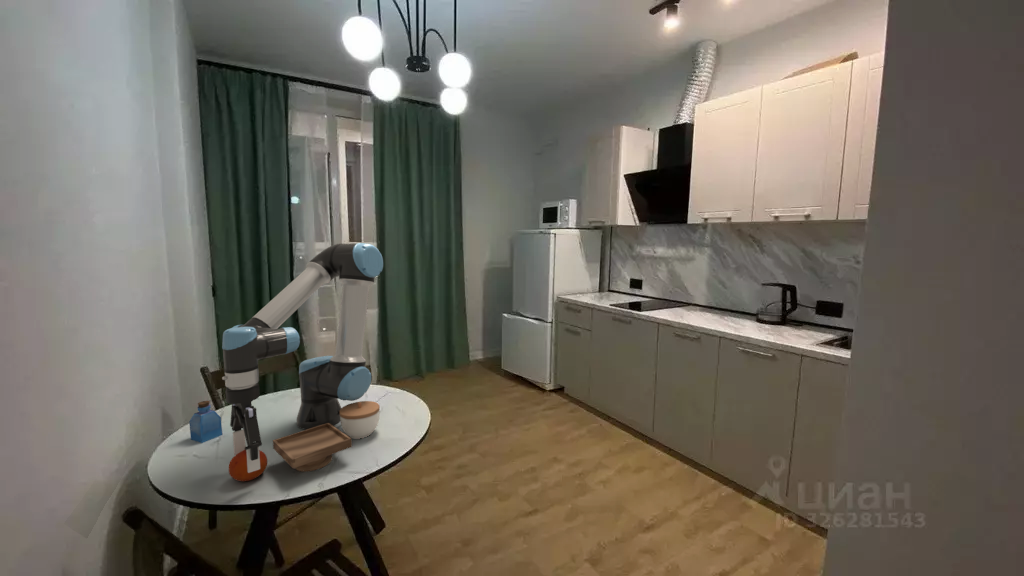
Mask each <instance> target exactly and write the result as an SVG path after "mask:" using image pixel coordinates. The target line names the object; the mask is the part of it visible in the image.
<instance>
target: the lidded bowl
mask: <svg viewBox="0 0 1024 576" xmlns="http://www.w3.org/2000/svg"><path fill="white" fill-rule="evenodd" d="M380 409H381V407H380V403H378V402H376V401H372V400H361V401H354V402H351V403H348V404H346V405H344V406H341V409H340V411H339V413H340V426H341V428H342V430H343V433H344V434H346V435H347V436H349V437H350V438H351V439H353V440H354V439H355V440H359V439H360V438H362V439H365V438H364V437H366V438H367V436H368V437H370V436H371V435H372V434H373V432H374V431H375V430H376V429H377V427H378V425H379V421H380ZM371 433H372V434H371ZM370 434H371V435H370ZM369 435H370V436H369ZM360 440H361V439H360Z"/></svg>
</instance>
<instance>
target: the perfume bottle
mask: <svg viewBox="0 0 1024 576" xmlns="http://www.w3.org/2000/svg"><path fill="white" fill-rule="evenodd" d="M197 405H198V406H197V412H195V413H193V415H192V416H191V418H190V420H189V430H190V431H189V433H190V440H192V441H194V442H196V443H197V442H198V443H200V444H203V443H206V442H208V441H210V440H211V441H212V440H213V439H216V438H219V437H221V436H223V427H222V426H223V425H222V418H221V416H220V414H219V413H217V411H216V410H212V409H211V407H212V406H211V404H210V400H204V401H203V400H202V401H199V402H198V403H197Z"/></svg>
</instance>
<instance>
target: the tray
mask: <svg viewBox="0 0 1024 576" xmlns="http://www.w3.org/2000/svg"><path fill="white" fill-rule="evenodd" d="M352 439H353V438H351V437H350V436H349V435H347V434H346V433H345V432H344V431H341V430H340V429H338V428H337V427H336V426H334V425H331V424H330V423H326V424H323V425H319V426H316V427H313V428H310V429H303V430H301V431H299V432H294V433H292V434H288V435H285V436H282V437H279V438H276V439H273V440H272V447H273V448H272V449H274V451H275V452H276V453H277V454H278V455H279V456H280V457H281V458H282V459H283V460H284V462H286V463H287V464H288V465H289V466H290V467H291V468H292V469H294V470H296V471H298V472H303V473H304V472H306V473H308V472H314V471H317V470H320V469H323V468H325V467H326V466H328V465H329V464H330V463H332V461H333V454H336V453H340V452H342V451H344V450H346V449H347V450H348V449H350V448H352V447H353V445H352V444H353V443H352V442H353V440H352Z"/></svg>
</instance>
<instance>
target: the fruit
mask: <svg viewBox="0 0 1024 576" xmlns="http://www.w3.org/2000/svg"><path fill="white" fill-rule="evenodd" d="M259 454H260V469H259V470H256V471H253V472H250V473H248V470H247V452H246V450H243V451H241V452H240V453H238V454H237V455H234V456H232V458H231V460H230V461H229V463H228V473H229V476H230V477H231V478H232V479H234V480H236V481H239V482H250V481H252V480H255V479H256V478H258V477H259V476H261V475H262V474H263V473H264V472H265V470H266V468H267V466H268V458H267V455H266V454H265V452H263V451H262V450H260V449H259Z"/></svg>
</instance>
